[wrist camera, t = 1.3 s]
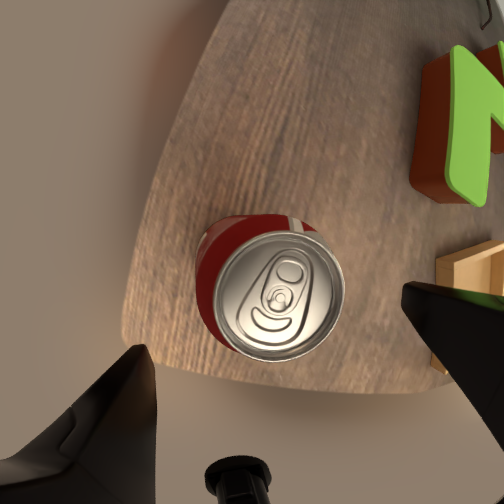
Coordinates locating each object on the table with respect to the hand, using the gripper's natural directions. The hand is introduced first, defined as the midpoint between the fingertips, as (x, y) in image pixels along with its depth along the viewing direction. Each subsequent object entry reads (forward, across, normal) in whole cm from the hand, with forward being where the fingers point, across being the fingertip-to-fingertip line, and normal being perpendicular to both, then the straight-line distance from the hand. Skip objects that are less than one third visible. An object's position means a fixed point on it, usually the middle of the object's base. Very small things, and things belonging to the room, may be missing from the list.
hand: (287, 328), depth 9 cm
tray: (+13, -27, +14) cm, 33 cm away
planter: (+18, -32, -10) cm, 38 cm away
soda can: (+14, 0, +3) cm, 15 cm away
